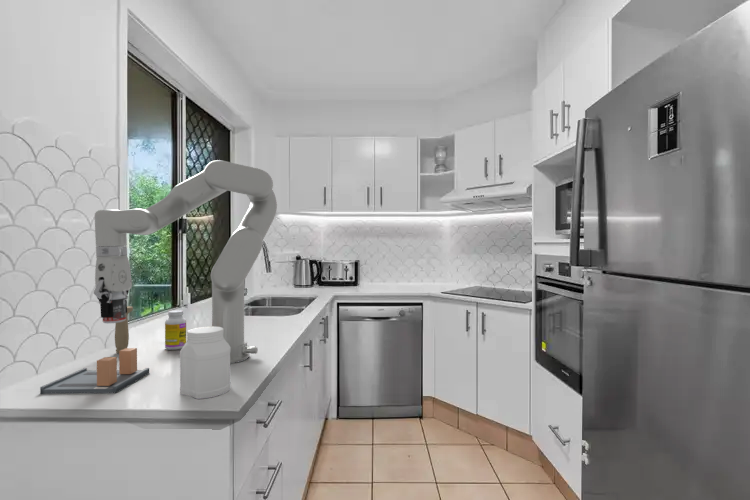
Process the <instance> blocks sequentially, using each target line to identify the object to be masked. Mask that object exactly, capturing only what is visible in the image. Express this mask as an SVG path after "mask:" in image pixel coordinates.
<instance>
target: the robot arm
mask: <svg viewBox="0 0 750 500" xmlns="http://www.w3.org/2000/svg"><path fill="white" fill-rule="evenodd" d="M273 186H274V181H273V178H272V176H271V175H270V174H269V173H268V172H267V171H265V170H263V169H261V168H257V167H253V166H249V165H248V166H247V165H243V164H239V163H234V162H231V161H226V160H220V159H219V160H218V159H217V160H212V161H210V162H209V163H208V164H206V166H205V167H204V169H203V170H202V171H200V172H199V173H197V174H195V175H194V176H191V177H189V178H188V179H186V180H184V181H182V182H180V183H178V184H176V185H175V186H174V187H173V188H171V190H170V192H169V193H168V194H167V195H166V196H165V197H164V198H162V199H160V200H159V201H158V202H156V203H154V204H152V205H150V206H148V207H147V208H145V209H144V208H129V209H121V210H119V209H98V210H97V211H95V213H94V233H95V234H94V237H95V256H96V257H95V258H96V261H95V271H94V272H95V274H94V275H95V276H94V281H95V283H94V284H95V289H94V290H93V294H94V296H95V298H96V299H97V300H98V303H99V304H100V306H99V307H100V318H102V319H103V318H106V317H113V316H114V315H113V303H111V300H112V295H113V293H116V292H121V291H123V292H122V294H123V295H125V304H126V313H127V306H128V298H129V297H128V295H129V292H130V290H131V289H132V287H133V283H132V274H131V273H132V272H131V266H130V265H131V264H130V261H129V257H128V246H127V245H128V243H127V240H128V239H127V234H128V235H129V234H130V235H139V236H141V235H142V236H148V235H152V234H153V233H156V232H158V231H160V230H161V229H164V228H165V227H167V226H169V225H170V224H172V223H174V222H175V221H177V220H179V219H180V218H181V217H183V216H185V215H187V214H189V213H190V212H192V211H193V210H195V209H198V208H199V207H200V206H202V205H204V204H206V203H207V202H210V201H211V200H213V199H215V198H217V197H219V196H220V195H222V194H224V193H226V192H227V191H229V192H232V193H237V194H242V195H246V196H247V198H248V199H249V207H248V209H247V211H246V212H245V215H244V216H243V218H242V220H241V222H240V224H239V225H238V227H237V229H236V230H235V231H234V232H232V233H231V235H230V237H229V239H228V240H227V243H226V244H225V246H224V247H223V249H222V250H221V253H220V254H219V256H218V258H217V260H216V262H215V264H214V265H213V267H212V269H211V272H210V281H211V326H213V327H222V328H223V337H224V339H225V340H226V342H227V343H228V344H229V346H230V349H231V351H230V364H235V362H236V363H239V362H238V361H240V362H243V361H242V360H244V361H246V360H247V358H248V357H249V358H250V354H253V355H254V354H255V355H256V354H258V347H257V346H255V345H253V346H249V345H248V342H247V341H245V280H246V278H247V276H249V275H248V274H249V273H250V271H251V270H252V267H253V266H254V265H255V262H256V260H257V259H258V257H259V255H260V253H261V251H262V248H263V242H264V241H263V240H264V239H265V237H266V235H267V233H268V231H269V229H270V227H271V225H272V223H273V221H274V219H275V217H276V214H277V209H278V208H277V207H278V204H277V202H278V201H277V197H276V195H275V193H274V190H273V188H274V187H273ZM105 290H108V291H109V292H105ZM106 295H108V297H106ZM249 358H248V359H249ZM245 359H246V360H245Z"/></svg>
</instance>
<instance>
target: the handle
mask: <svg viewBox="0 0 750 500" xmlns="http://www.w3.org/2000/svg"><path fill="white" fill-rule="evenodd" d="M133 309H134V308H133V306H130V305H129V306H128V305H127V313H126V320H125V321H123V322H118V323H115V324H114V325H115V328H114V329H115V330H114V346H115V353H116V354H119V351H121V350H123V349H125V348H129V343H130V342H129V341H130V337H129V319H128V316H129V314H130V313H132V312H133Z"/></svg>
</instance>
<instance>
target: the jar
mask: <svg viewBox="0 0 750 500" xmlns="http://www.w3.org/2000/svg"><path fill="white" fill-rule="evenodd" d="M230 351H231V349H230V346H229V344H228V343H227V342H226V340H225V339H224V337H223V328H222V327H213V326H212V325H211V326H199V327H194V328H191V329H188V330H186V343H185V345H184V346H183V348H182V349H180V351H179V368H180V369H179V378H180V381H179V382H180V383H179V386H180V387H179V394H180V395H183V396H189V397H192V398H194V399H197V400H202V399H203V400H204V399H209V398H211V399H212V398H214V397H218V395H219V396H221V395H224V394H226V393H228V392H229V391H230V389H231V388H232V387H231V386H232V385H231V384H232V383H231V363H230Z"/></svg>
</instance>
